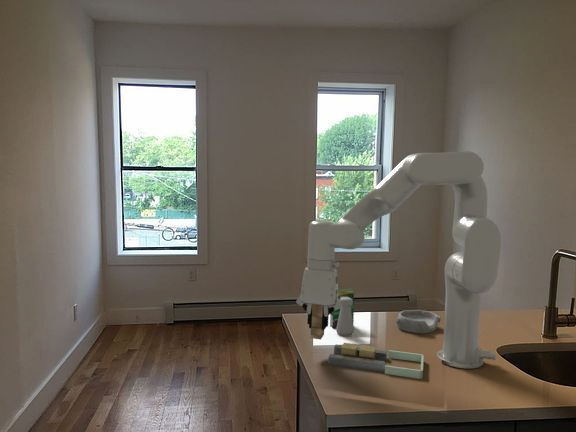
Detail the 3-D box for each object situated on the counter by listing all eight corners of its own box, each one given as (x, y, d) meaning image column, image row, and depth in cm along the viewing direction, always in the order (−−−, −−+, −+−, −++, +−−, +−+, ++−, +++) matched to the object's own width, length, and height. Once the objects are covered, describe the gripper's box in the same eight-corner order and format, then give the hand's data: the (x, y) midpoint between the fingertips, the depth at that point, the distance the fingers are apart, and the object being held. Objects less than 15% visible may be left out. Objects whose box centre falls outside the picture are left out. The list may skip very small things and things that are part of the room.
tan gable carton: (324, 334, 137) (325, 300, 136) (320, 339, 132) (322, 304, 131) (314, 333, 137) (315, 299, 137) (310, 338, 133) (311, 303, 132)
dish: (442, 326, 167) (442, 313, 167) (431, 338, 155) (432, 323, 155) (402, 319, 175) (403, 306, 174) (389, 329, 163) (389, 315, 163)
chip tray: (423, 364, 133) (423, 354, 133) (422, 382, 121) (422, 371, 121) (388, 360, 136) (389, 350, 135) (384, 377, 124) (385, 366, 124)
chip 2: (375, 360, 133) (375, 346, 132) (373, 365, 129) (374, 351, 128) (361, 358, 134) (361, 344, 133) (358, 363, 130) (359, 349, 130)
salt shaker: (353, 340, 151) (354, 300, 150) (335, 338, 152) (336, 299, 151) (354, 334, 157) (355, 296, 155) (337, 333, 158) (338, 295, 157)
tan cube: (357, 357, 134) (358, 344, 134) (355, 363, 130) (355, 349, 130) (343, 356, 135) (344, 342, 135) (341, 361, 131) (341, 347, 131)
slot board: (386, 361, 135) (387, 351, 134) (383, 375, 125) (383, 364, 125) (335, 354, 139) (335, 344, 139) (328, 367, 130) (328, 356, 129)
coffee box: (331, 328, 162) (332, 291, 161) (329, 325, 165) (330, 289, 164) (353, 327, 164) (355, 290, 163) (350, 324, 167) (352, 288, 166)
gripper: (351, 265, 134) (348, 327, 136) (296, 259, 139) (293, 320, 141) (346, 269, 127) (343, 336, 129) (289, 264, 132) (286, 328, 133)
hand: (317, 327), depth 135 cm, fingers closed on tan gable carton, 3 cm apart
